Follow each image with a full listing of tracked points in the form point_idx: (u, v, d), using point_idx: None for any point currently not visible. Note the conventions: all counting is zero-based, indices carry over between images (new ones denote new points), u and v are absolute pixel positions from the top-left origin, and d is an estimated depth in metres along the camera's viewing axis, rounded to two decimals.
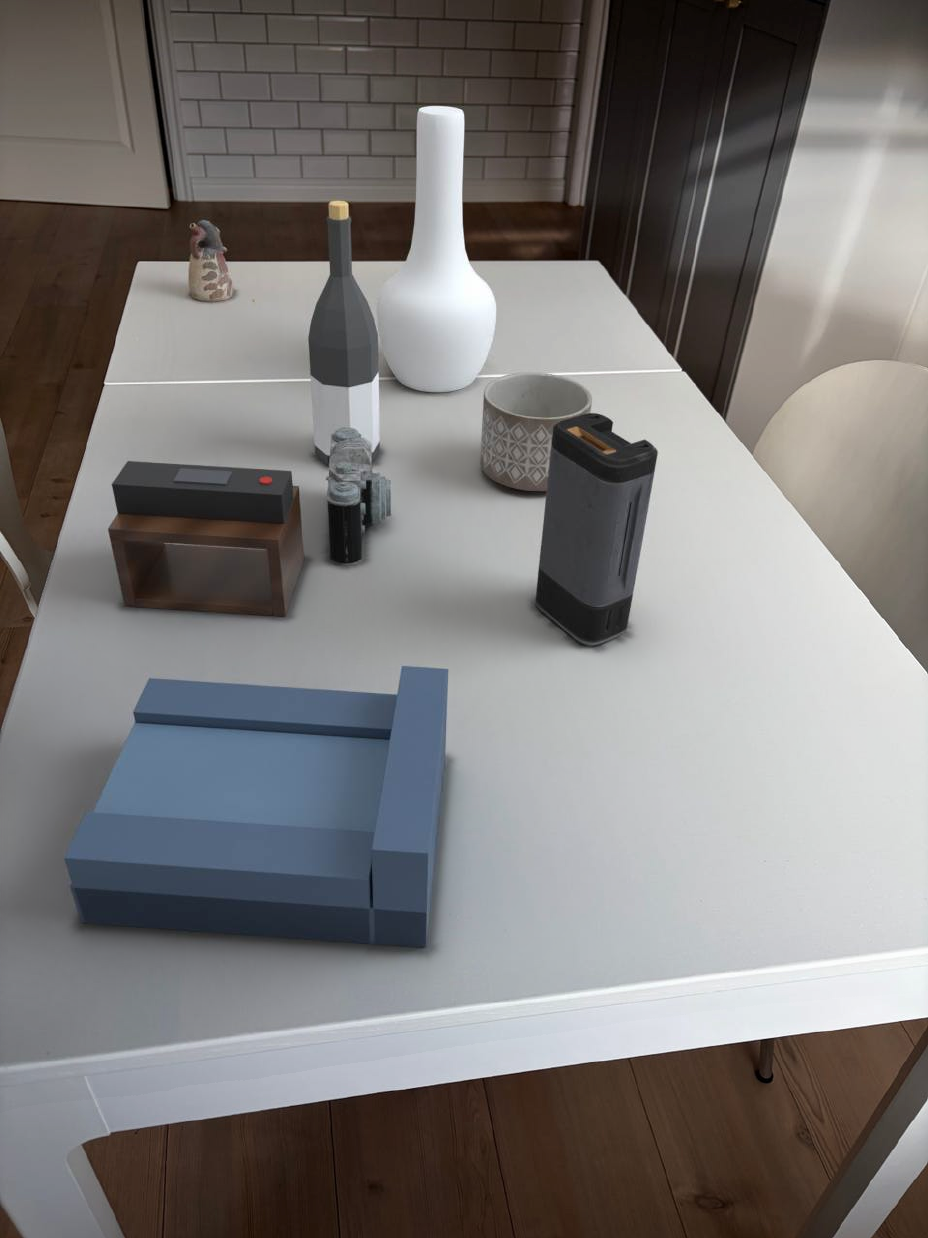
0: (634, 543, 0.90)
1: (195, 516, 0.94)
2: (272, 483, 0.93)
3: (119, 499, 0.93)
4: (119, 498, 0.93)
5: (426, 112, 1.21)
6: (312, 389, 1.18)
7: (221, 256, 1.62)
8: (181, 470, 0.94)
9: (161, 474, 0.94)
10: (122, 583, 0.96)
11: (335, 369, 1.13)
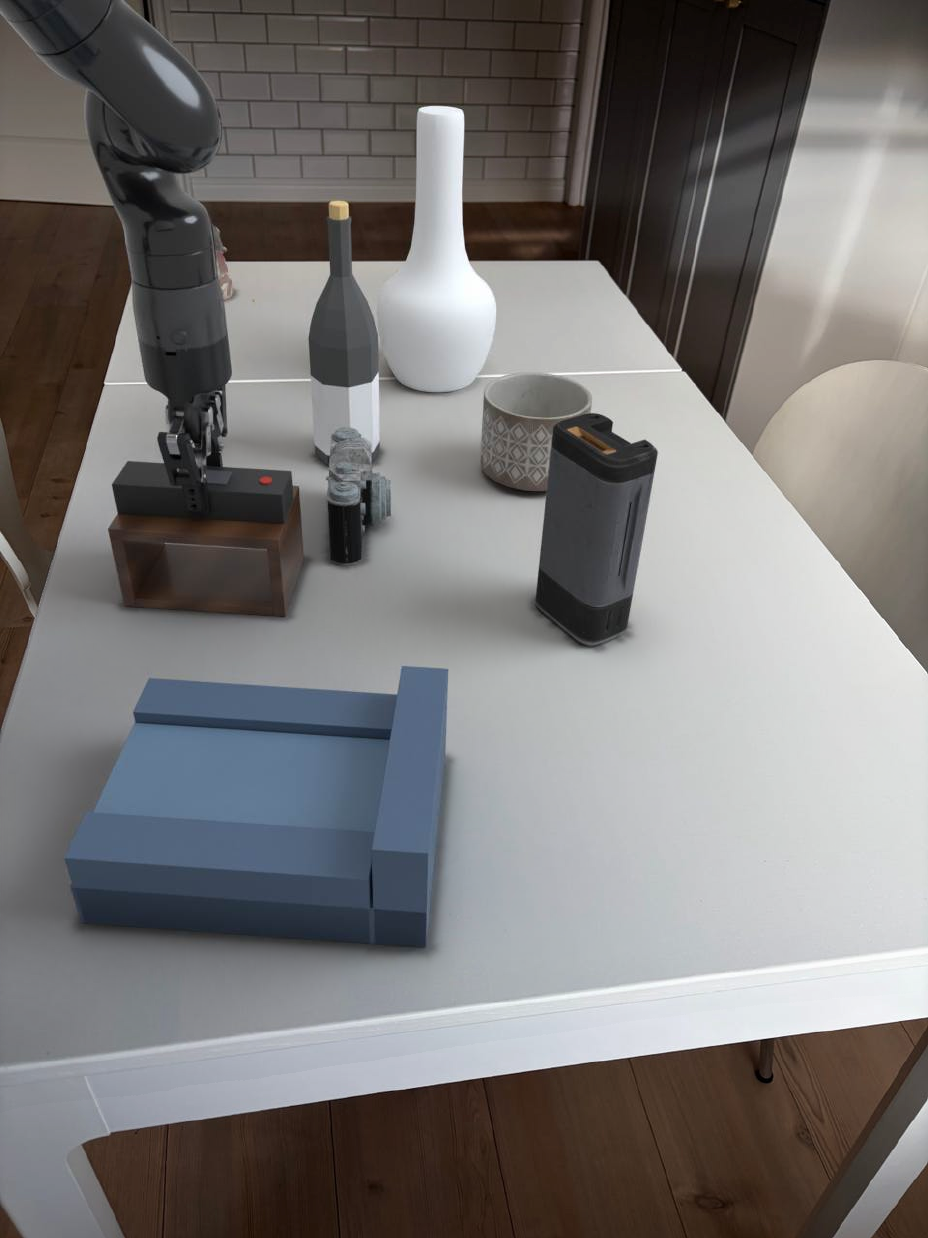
0: (634, 543, 0.90)
1: (195, 516, 0.94)
2: (272, 482, 0.93)
3: (119, 499, 0.93)
4: (119, 498, 0.93)
5: (426, 112, 1.21)
6: (312, 389, 1.18)
7: (221, 256, 1.62)
8: None
9: (161, 474, 0.94)
10: (122, 583, 0.96)
11: (335, 369, 1.13)
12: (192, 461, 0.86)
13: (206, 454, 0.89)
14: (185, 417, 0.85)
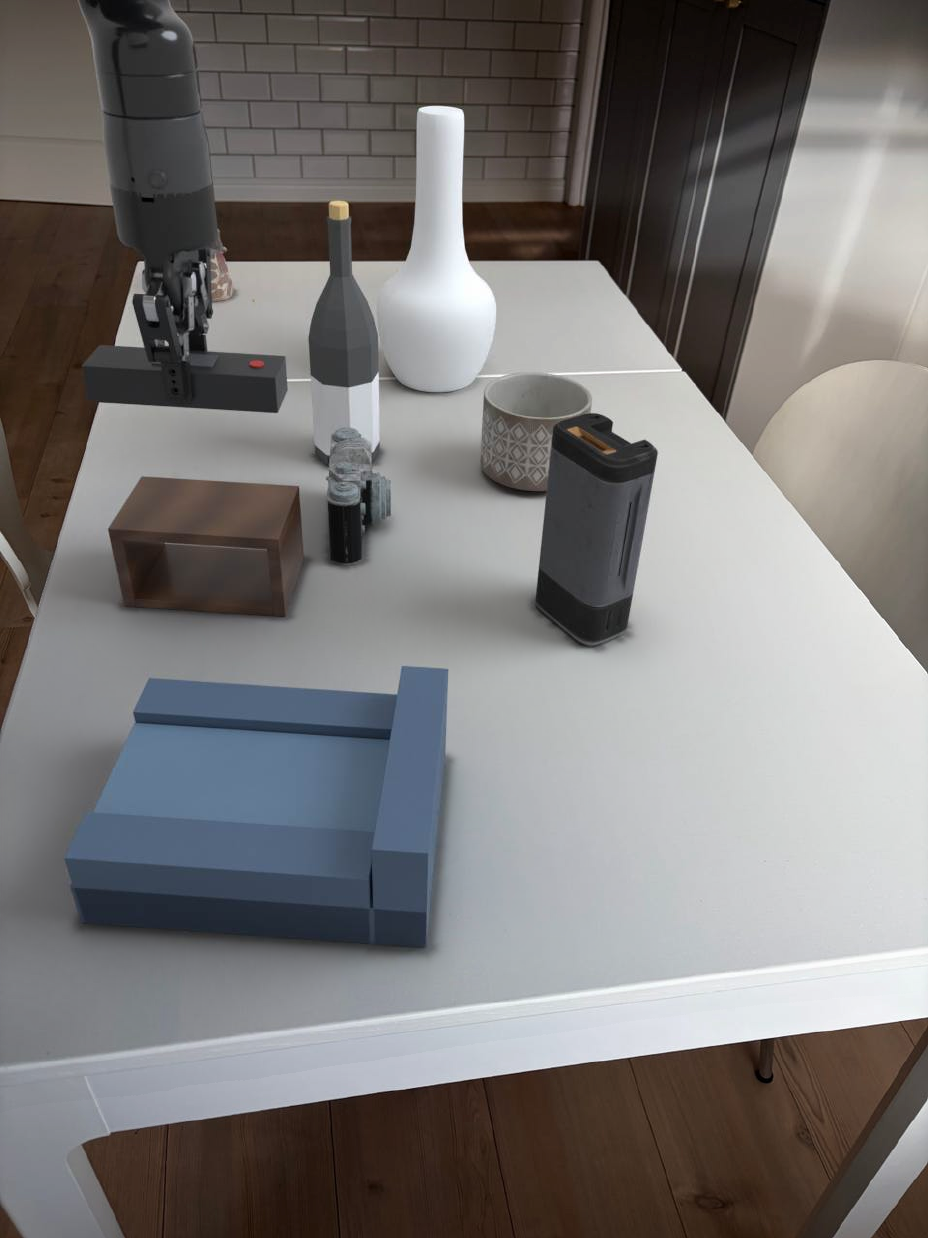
0: (634, 543, 0.90)
1: (177, 404, 0.83)
2: (263, 366, 0.83)
3: (90, 384, 0.82)
4: (90, 383, 0.82)
5: (426, 112, 1.21)
6: (312, 389, 1.18)
7: (221, 256, 1.62)
8: None
9: (137, 357, 0.83)
10: (122, 583, 0.96)
11: (335, 369, 1.13)
12: (173, 330, 0.76)
13: (189, 327, 0.78)
14: (164, 279, 0.75)
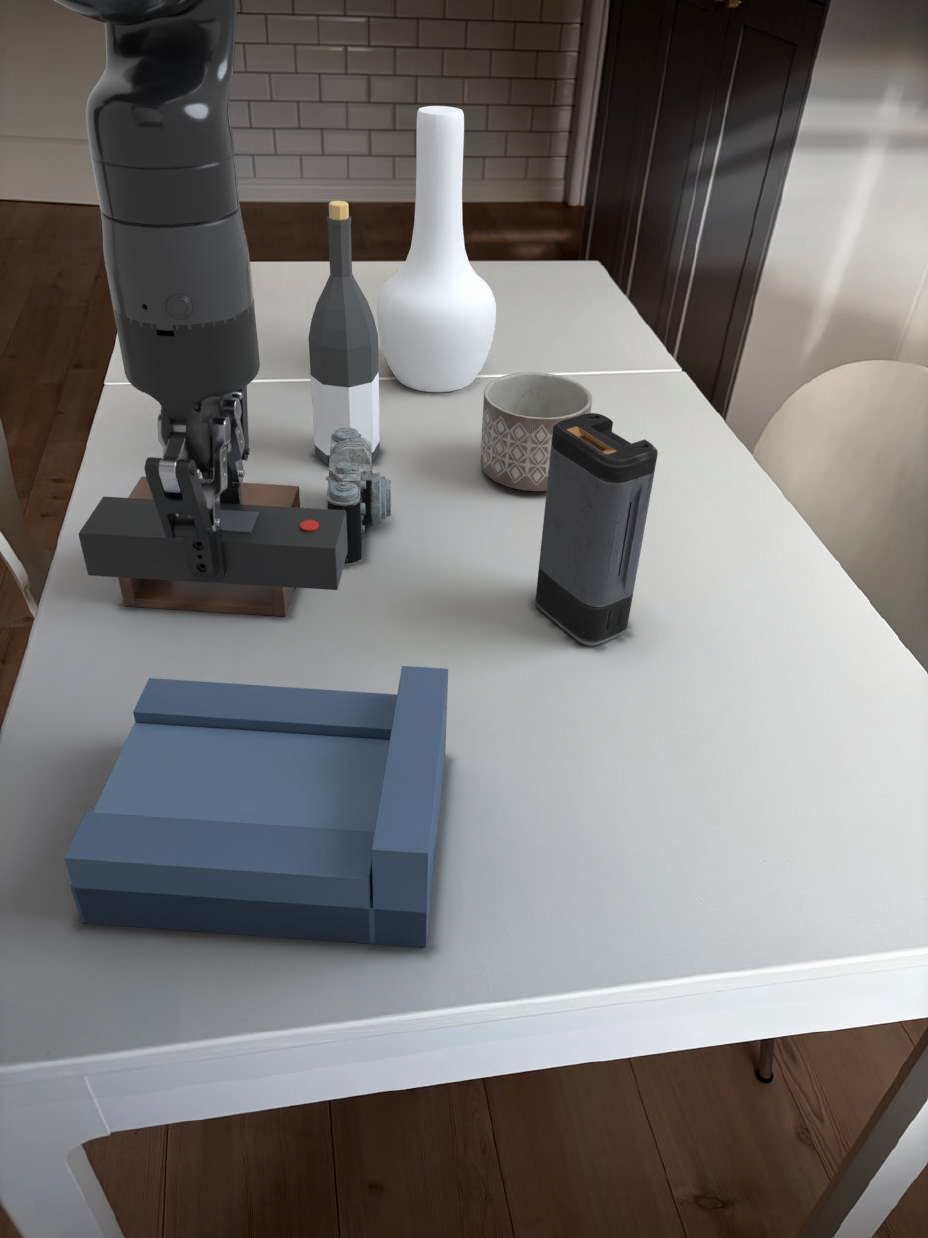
0: (634, 543, 0.90)
1: None
2: (319, 529, 0.63)
3: (90, 555, 0.62)
4: (90, 554, 0.62)
5: (426, 112, 1.21)
6: (312, 389, 1.18)
7: None
8: None
9: (153, 517, 0.63)
10: (122, 583, 0.96)
11: (335, 369, 1.13)
12: (199, 502, 0.55)
13: (220, 489, 0.58)
14: (188, 434, 0.54)
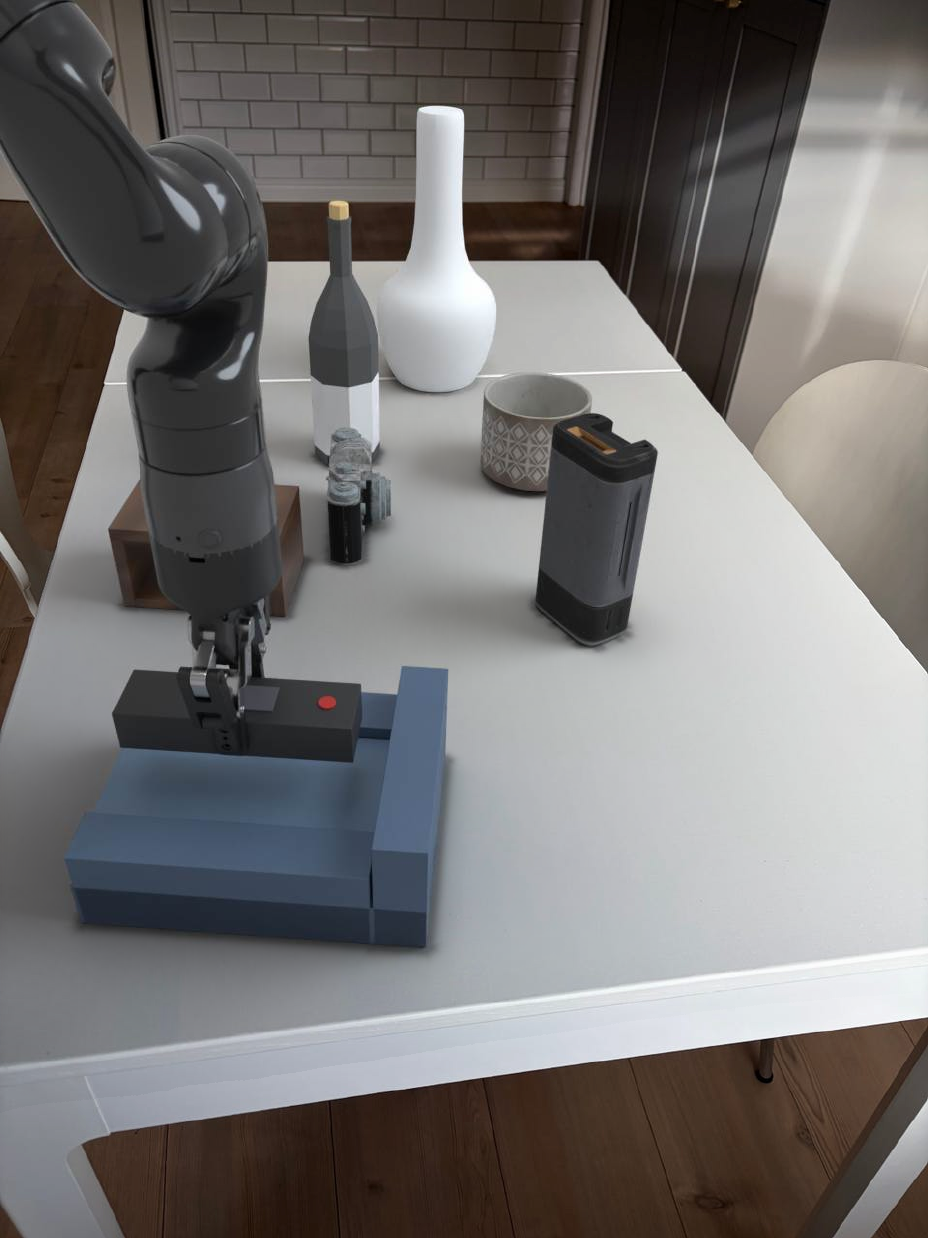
0: (634, 543, 0.90)
1: None
2: (336, 707, 0.67)
3: (122, 731, 0.66)
4: (122, 730, 0.66)
5: (426, 112, 1.21)
6: (312, 389, 1.18)
7: None
8: None
9: (181, 694, 0.67)
10: (122, 583, 0.96)
11: (335, 369, 1.13)
12: (226, 702, 0.60)
13: (245, 682, 0.62)
14: (217, 642, 0.59)
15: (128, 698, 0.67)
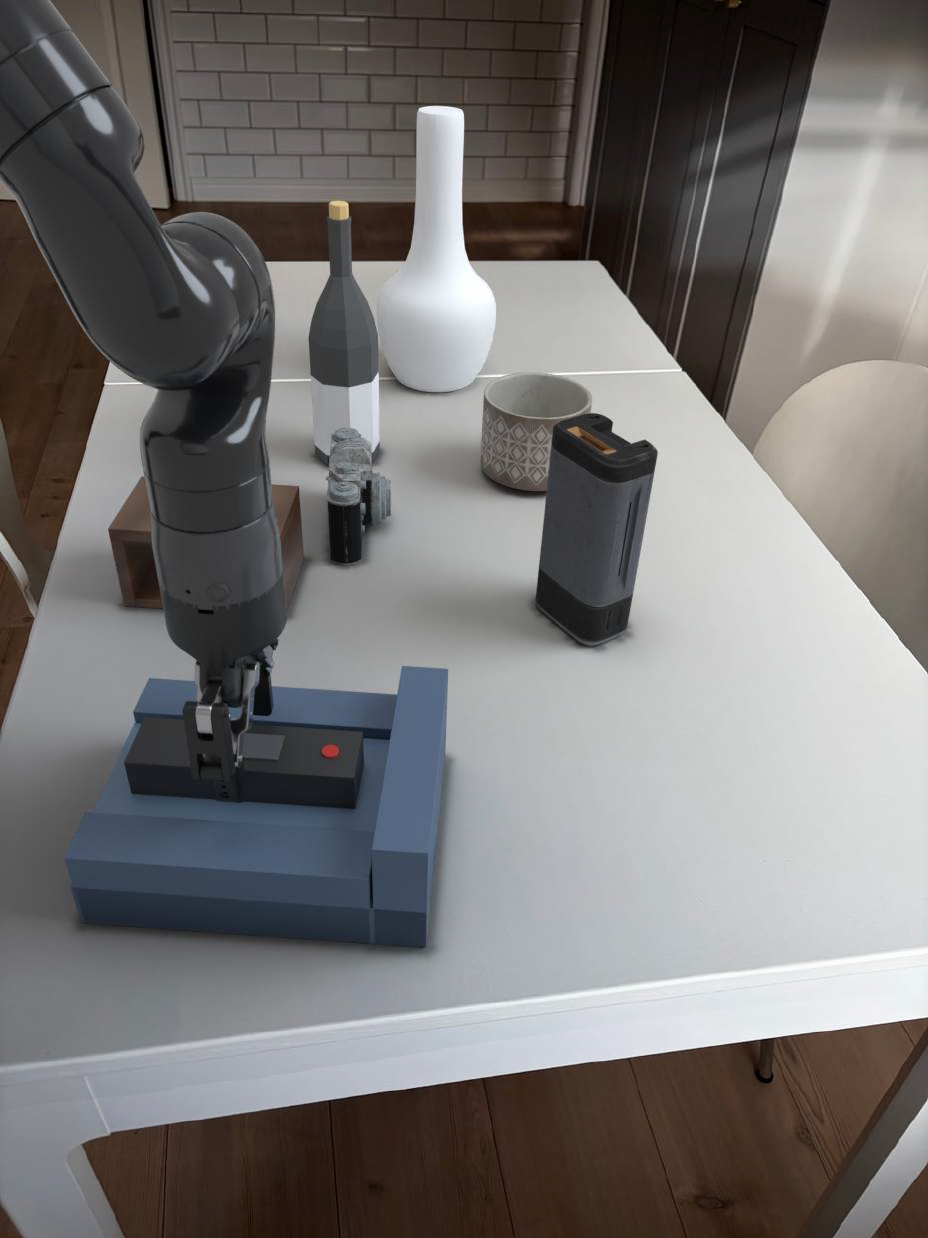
0: (634, 543, 0.90)
1: None
2: (339, 755, 0.70)
3: (134, 779, 0.69)
4: (134, 778, 0.69)
5: (426, 112, 1.21)
6: (312, 389, 1.18)
7: None
8: None
9: None
10: (122, 583, 0.96)
11: (335, 369, 1.13)
12: (228, 744, 0.61)
13: (246, 726, 0.63)
14: (224, 688, 0.61)
15: (139, 747, 0.70)
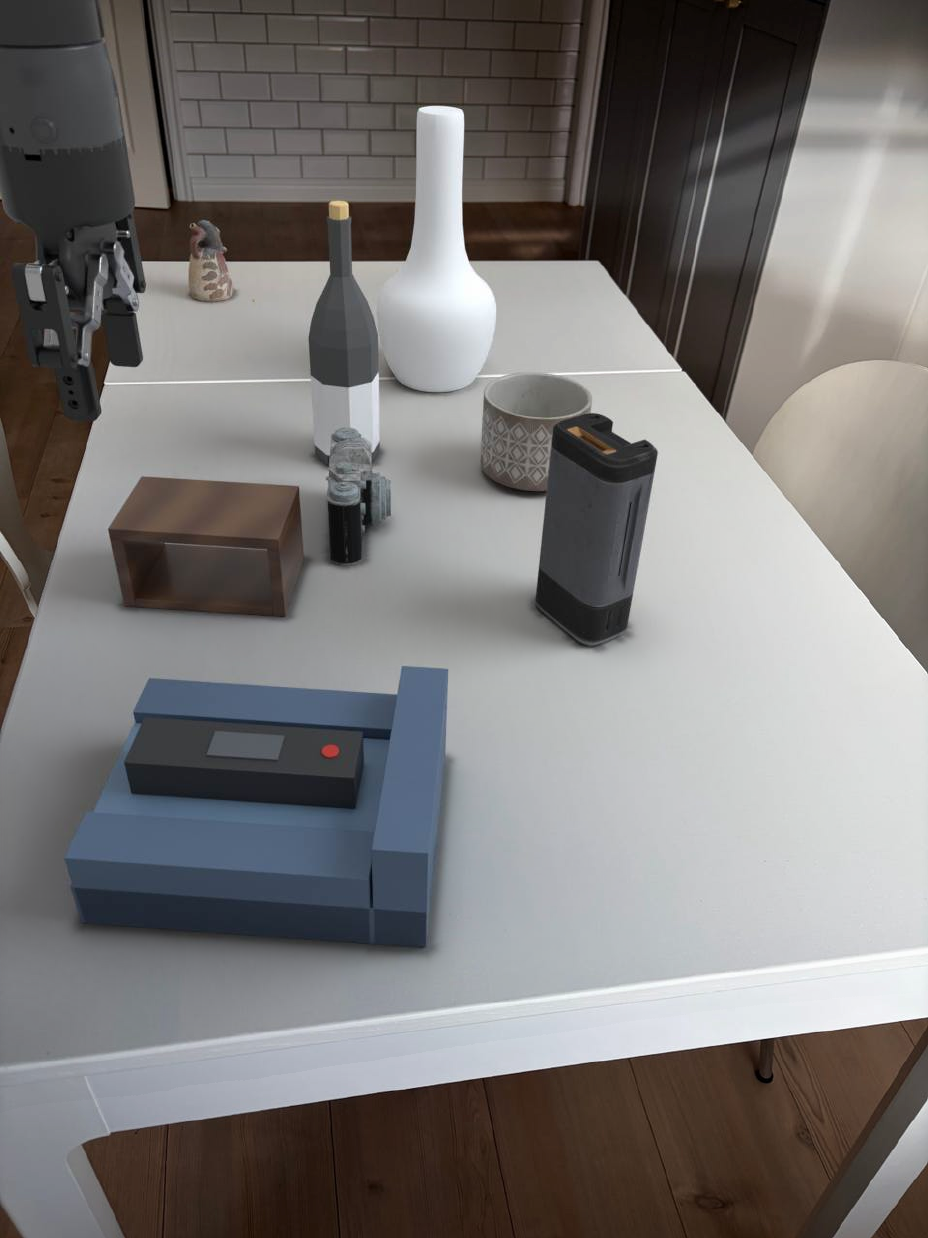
0: (634, 543, 0.90)
1: (235, 799, 0.70)
2: (339, 755, 0.70)
3: (134, 779, 0.69)
4: (134, 778, 0.69)
5: (426, 112, 1.21)
6: (312, 389, 1.18)
7: (221, 256, 1.62)
8: (216, 735, 0.71)
9: (190, 743, 0.70)
10: (122, 583, 0.96)
11: (335, 369, 1.13)
12: (64, 317, 0.57)
13: (91, 319, 0.60)
14: (61, 262, 0.58)
15: (139, 747, 0.70)
